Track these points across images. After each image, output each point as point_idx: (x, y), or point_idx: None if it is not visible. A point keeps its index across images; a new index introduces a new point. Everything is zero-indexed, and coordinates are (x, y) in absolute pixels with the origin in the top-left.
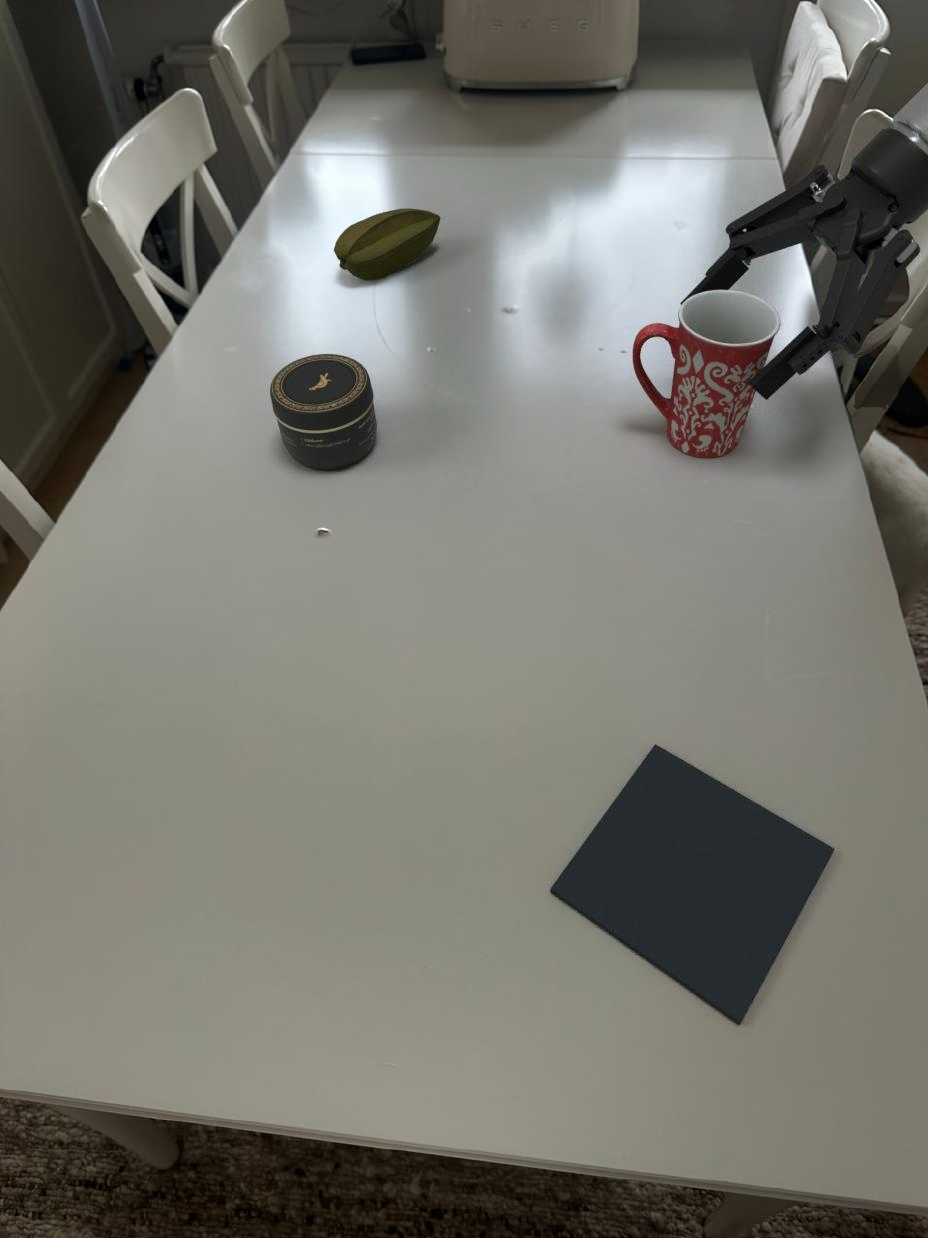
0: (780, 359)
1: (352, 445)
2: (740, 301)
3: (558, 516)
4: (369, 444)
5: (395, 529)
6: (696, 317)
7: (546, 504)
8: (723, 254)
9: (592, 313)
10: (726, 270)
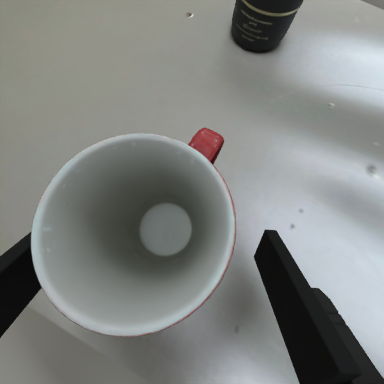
0: (9, 252)
1: (235, 18)
2: (192, 288)
3: (142, 106)
4: (239, 36)
5: (175, 38)
6: (210, 209)
7: (155, 104)
8: (362, 352)
9: (355, 230)
10: (303, 325)
